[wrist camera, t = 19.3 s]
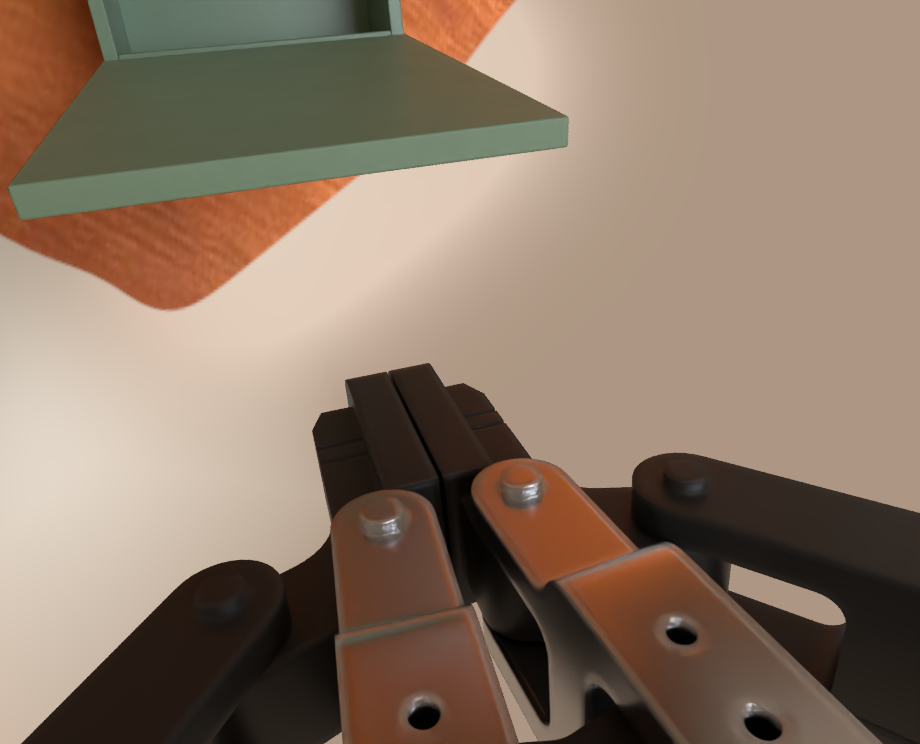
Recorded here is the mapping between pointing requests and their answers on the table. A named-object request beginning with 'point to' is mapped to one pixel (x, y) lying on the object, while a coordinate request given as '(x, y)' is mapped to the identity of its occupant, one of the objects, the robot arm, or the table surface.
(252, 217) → the table surface
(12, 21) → the table surface
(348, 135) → the box lid
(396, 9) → the chess box
